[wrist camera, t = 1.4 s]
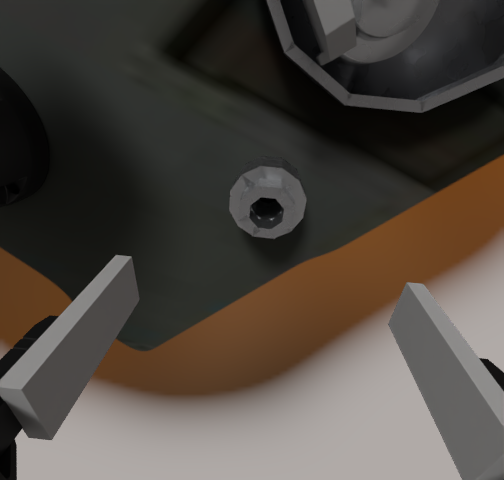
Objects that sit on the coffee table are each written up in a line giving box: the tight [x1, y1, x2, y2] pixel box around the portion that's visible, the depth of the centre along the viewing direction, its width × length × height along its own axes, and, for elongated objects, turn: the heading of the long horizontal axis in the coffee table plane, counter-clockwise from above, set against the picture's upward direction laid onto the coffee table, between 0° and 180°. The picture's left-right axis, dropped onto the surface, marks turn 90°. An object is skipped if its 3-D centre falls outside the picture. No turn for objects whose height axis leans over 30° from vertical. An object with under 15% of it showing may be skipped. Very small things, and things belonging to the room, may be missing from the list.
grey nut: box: [229, 156, 307, 239], centre depth 25 cm, size 7×7×6 cm
